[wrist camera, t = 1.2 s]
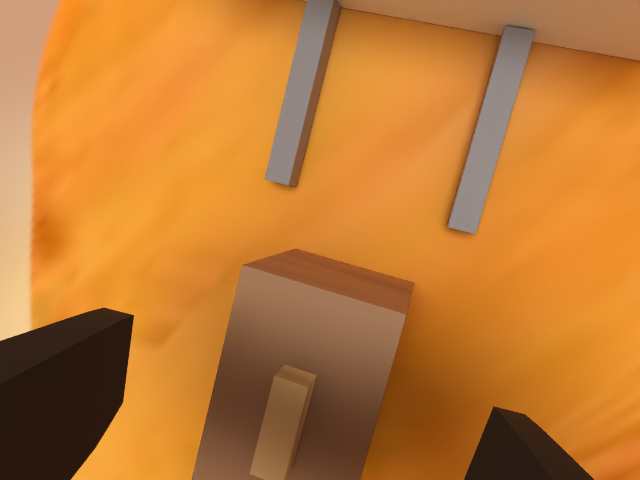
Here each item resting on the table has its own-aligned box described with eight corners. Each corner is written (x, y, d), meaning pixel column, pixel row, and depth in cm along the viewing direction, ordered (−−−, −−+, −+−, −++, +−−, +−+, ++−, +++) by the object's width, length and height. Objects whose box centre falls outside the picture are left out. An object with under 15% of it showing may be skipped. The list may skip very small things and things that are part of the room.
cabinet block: (362, 464, 20) (327, 594, 14) (253, 424, 21) (169, 525, 14) (414, 282, 19) (404, 323, 13) (296, 248, 20) (228, 269, 14)
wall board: (585, 262, 18) (672, 293, 11) (186, 158, 21) (79, 136, 15) (665, 14, 17) (812, -107, 10) (233, -56, 20) (138, -180, 14)
